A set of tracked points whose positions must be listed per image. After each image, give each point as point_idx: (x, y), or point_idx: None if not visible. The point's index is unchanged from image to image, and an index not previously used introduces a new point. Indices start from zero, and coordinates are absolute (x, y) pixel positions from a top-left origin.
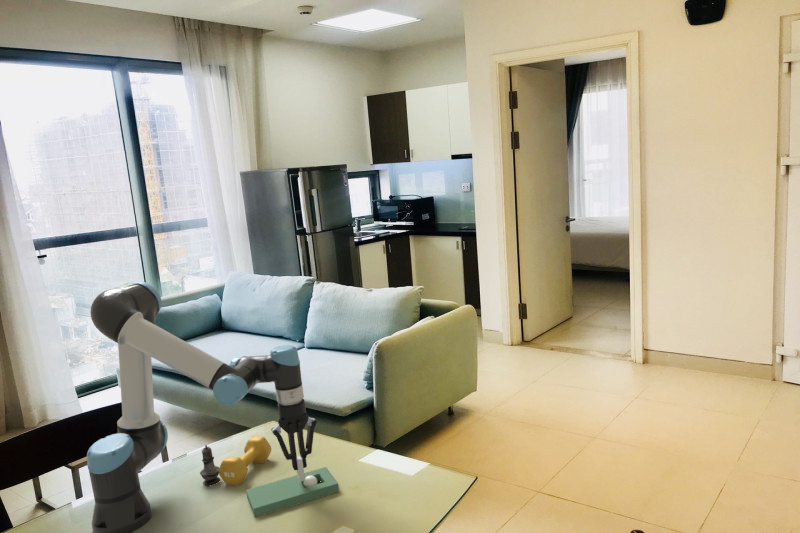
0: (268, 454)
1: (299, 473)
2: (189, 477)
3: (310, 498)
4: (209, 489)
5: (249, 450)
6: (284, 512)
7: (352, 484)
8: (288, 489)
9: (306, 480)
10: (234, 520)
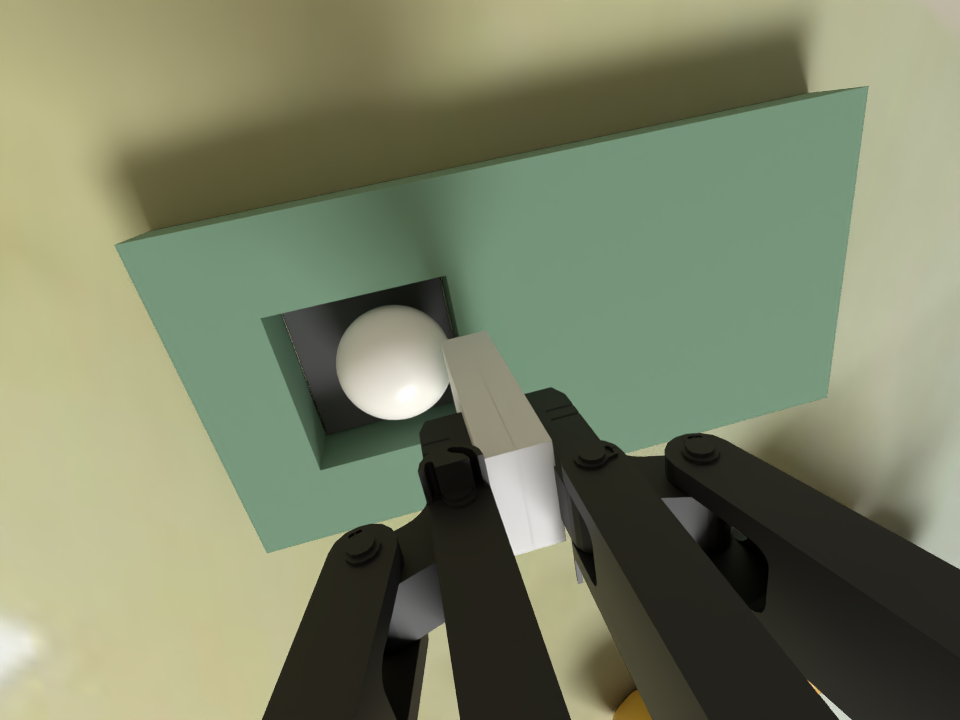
0: None
1: (499, 361)
2: None
3: (402, 179)
4: (906, 512)
5: None
6: (612, 66)
7: (32, 313)
8: (574, 301)
9: (427, 349)
10: (919, 115)
